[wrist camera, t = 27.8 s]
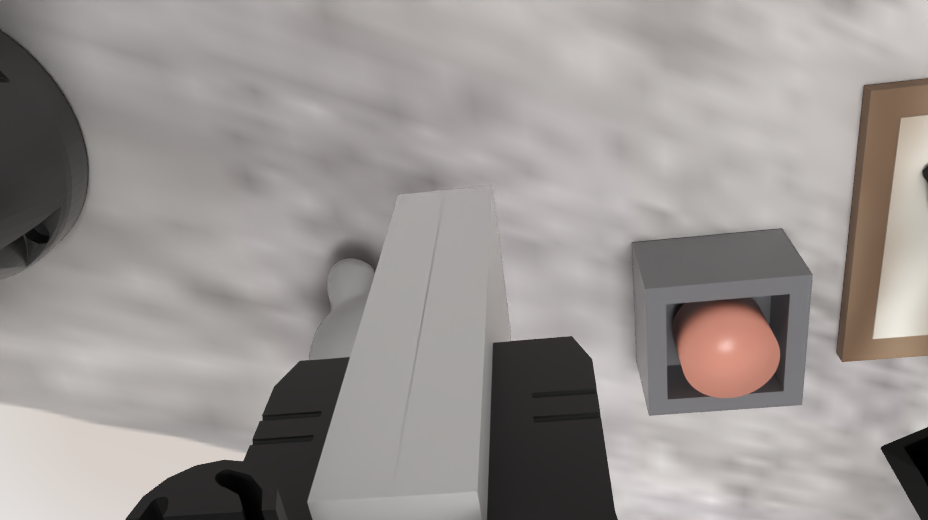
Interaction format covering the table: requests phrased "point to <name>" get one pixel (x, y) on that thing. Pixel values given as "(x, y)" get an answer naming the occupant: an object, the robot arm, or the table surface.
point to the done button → (725, 346)
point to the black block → (911, 467)
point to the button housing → (717, 278)
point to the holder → (925, 173)
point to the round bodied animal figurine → (343, 309)
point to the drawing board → (888, 228)
